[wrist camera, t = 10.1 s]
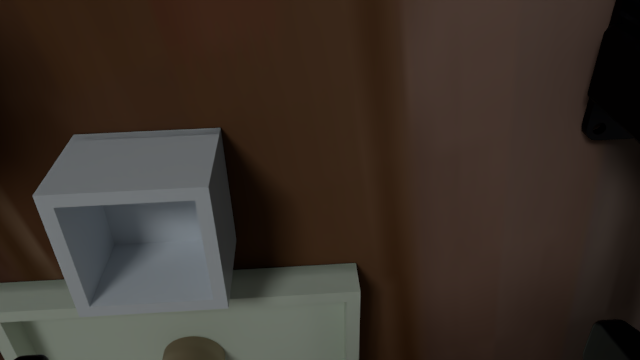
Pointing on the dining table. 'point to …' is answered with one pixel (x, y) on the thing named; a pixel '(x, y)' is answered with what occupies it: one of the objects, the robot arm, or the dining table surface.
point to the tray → (196, 320)
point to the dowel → (193, 349)
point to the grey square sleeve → (141, 221)
